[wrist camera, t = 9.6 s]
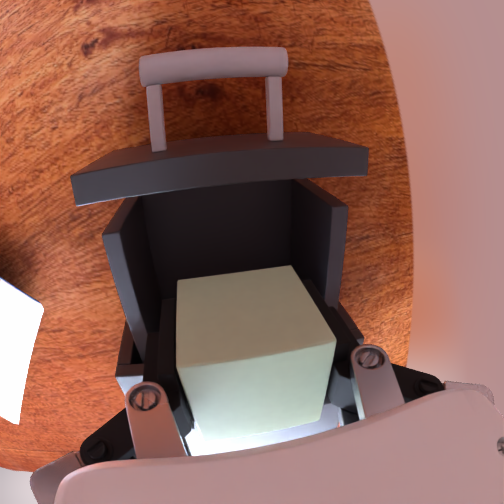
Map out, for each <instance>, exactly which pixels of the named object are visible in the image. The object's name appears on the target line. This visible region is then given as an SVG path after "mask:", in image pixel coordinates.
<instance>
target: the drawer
mask: <svg viewBox="0 0 504 504" xmlns="http://www.w3.org/2000/svg"><path fill="white" fill-rule="evenodd" d="M287 69H288V55H287V51H286V49H285V48H283V47H221V48H204V49H192V50H182V51H174V52H166V53H159V54H152V55H146V56H141V57H140V59H139V76H140V82H141V85H142V86H143V87H146V90H147V104H148V116H149V128H150V138H151V144H148V145H142V146H136V147H130V148H125V149H119V150H114V151H112V152H110V153H108V154H107V155H105V156H103V157H101V158H99V159H98V160H96V161H94V162H93V163H91V164H89V165H87V166H86V167H84V168H82V169H81V170H79V171H77V172H76V173H74V174H73V175H71V176H70V178H71V183H72V188H73V193H74V198H75V203H76V206H81V205H87V204H92V203H98V202H103V201H109V200H115V199H121V198H125V200H124V201H123V203H122V204H121V206H120V207H119V209H118V210H117V212H116V213H115V215H114V216H113V218H112V219H111V221H110V222H109V224H108V225H107V227H106V228H105V230H104V232H103V233H102V238H103V242H104V246H105V250H106V254H107V257H108V261H109V265H110V268H111V272H112V275H113V279H114V282H115V285H116V289H117V292H118V295H119V298H120V301H121V304H122V307H123V310H124V313H125V316H126V319H127V322H128V325H129V328H130V330H131V333H132V336H133V339H134V341H135V344H136V347H137V349H138V352H139V354H140V357H141V359H142V362H143V364H144V359H145V349H146V340H147V334H148V333H156V332H159V331H160V318H161V307H162V300H164V299H172V298H176V300H177V282H178V280H183V279H191V278H199V277H207V276H215V275H222V274H230V273H237V272H245V271H252V270H260V269H267V268H274V267H281V266H289V265H291V266H292V267H293V269H294V271H295V272H296V274H297V275H298V277H299V279H300V280H301V281H302V280H309V279H310V280H311V281H312V283H313V284H314V286H315V287H316V289H317V290H318V292H319V293H320V295H321V296H322V298H323V299H324V301H325V302H326V304H327V305H328V307H330V306H333V307H334V308H335V309H336V310H337V308H338V301H339V293H340V286H341V278H342V270H343V261H344V252H345V242H346V231H347V219H348V205H346V204H345V203H343V202H342V201H340V200H339V199H337V198H336V197H334V196H333V195H331V194H330V193H328V192H327V191H325V190H324V189H322V188H321V187H319V186H318V185H316V184H315V183H313V182H312V181H310V180H308V179H307V178H321V177H345V176H367V173H368V154H369V148H368V147H365V146H362V145H358V144H354V143H351V142H347V141H343V140H340V139H336V138H332V137H328V136H324V135H319V134H315V133H311V132H283V105H282V78H281V77H284V76H285V75H286V73H287ZM235 77H266V78H265V87H266V111H267V133H253V134H238V135H224V136H213V137H203V138H193V139H185V140H177V141H169V142H166V134H165V123H164V111H163V97H162V86H161V85H160V84H167V83H175V82H183V81H193V80H204V79H217V78H235Z"/></svg>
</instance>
